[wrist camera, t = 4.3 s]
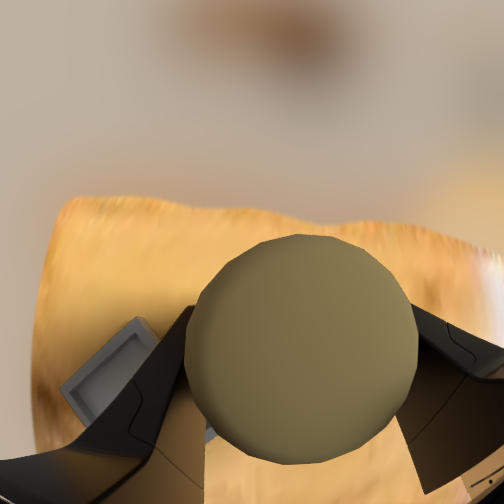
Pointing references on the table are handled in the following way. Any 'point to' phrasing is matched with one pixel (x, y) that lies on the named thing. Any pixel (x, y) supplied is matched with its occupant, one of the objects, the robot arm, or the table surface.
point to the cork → (301, 349)
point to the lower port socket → (112, 372)
